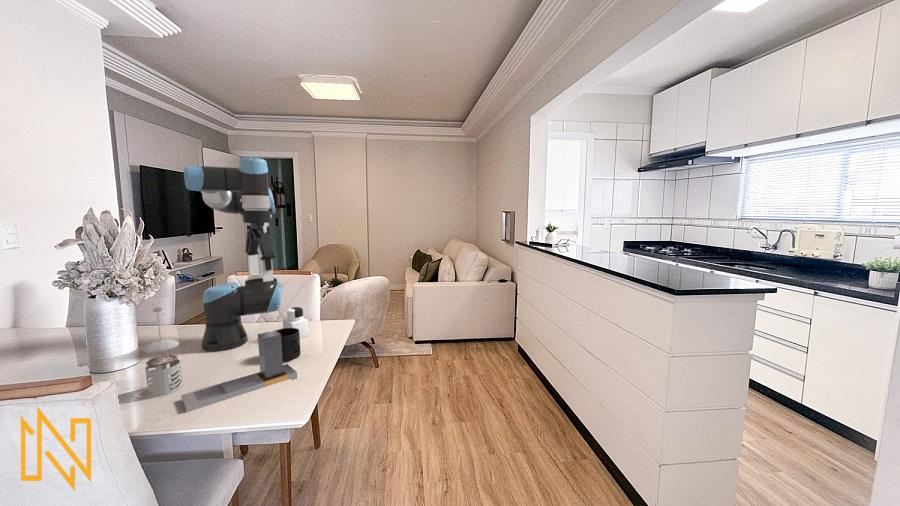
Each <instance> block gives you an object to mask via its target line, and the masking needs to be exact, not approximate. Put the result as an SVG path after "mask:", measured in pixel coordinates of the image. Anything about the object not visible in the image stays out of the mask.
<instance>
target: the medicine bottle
mask: <svg viewBox="0 0 900 506" xmlns="http://www.w3.org/2000/svg"><path fill="white" fill-rule="evenodd" d="M283 328H296V329H299V334H300V339H303V338H306V337H309V336H310V332H309V331H310V330H309V319H307V318H304V309H303V308H302V307H299V306H295V307H290V308H288V309H287V310H286V319H284V320H282V329H283Z"/></svg>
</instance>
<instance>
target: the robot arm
mask: <svg viewBox="0 0 900 506" xmlns="http://www.w3.org/2000/svg"><path fill="white" fill-rule="evenodd" d="M238 164H239V167H228V166H227V167H226V166H209V165H208V166H207V165H206V166H205V165H199V164H198V165H187V166H185V167H184V169H183V177H184V184H185V187H186V190H189V191H196V192H200V193H201V194H202V195H201V197H202V201H203V202H204V203H205V205H207V206H208V207H209V208H210V209H212V210H215V211H218V212H221V213H226V214H236V215H239V214H240V218H241V219H242V221H243V223H244V224H245V235H246V236H245V237H246V242H245V254H246V253H247V267H248V268H247V269H248V277H247V279H245V281H244V285H241V286H240V285H239V283H238V282H225V283H221V284H217V285H214V286H210V287H208V288H207V289H205V290H204V291H203V295H202V298H203V299H202V303H203V309H204V312H203V313H204V321H205V322H204V323H205V325H204V326H205V327H204V328H205V329H204V333H203V336H202V339H201V343H200V344H201V350H203V351H206V352H222V351H226V350H227V351H228V350H233V349H235V348H238V347H241V346H244V345H245V344H246V343H247V342H248V333H247V331H246V329H245V327H244V325H243V323H242V317H243V316H250V315H252V316H253V315H260V314H268V313H272V312H273V313H274V312H277V311H279V309H280V307H281V298H282V283H281V282H278V278H277V277H276V276H275V275H274V270H273V269H274V267H273V258H274V259H275V258H276V255H275V250H274V247H273V242H272V238H271V237H272V236H271V232H270V225H269V224H270V223H271V222H272V221H271V220H272V217H273V215H274V214H275V213H276V206H275V199H274V196H273V191H272V190H271V188H270V187H269V173H268V172H269V168H268V162H267V161H266V160H265V159H263V158H259V157H241V158H240V159H239V160H238Z"/></svg>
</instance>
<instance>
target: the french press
mask: <svg viewBox="0 0 900 506" xmlns="http://www.w3.org/2000/svg"><path fill="white" fill-rule="evenodd" d="M152 312H153V313H156V315H157V316H156V317H157V326H158V332H159V334H158V335H159V339H158V340H155V341H152V342H150V343H149V344H147V345H145V346H144V347H143V348H142V351H143V352H145V353H148V354H154V353H155V354H157V353H160V354H161V355H160V356H155V357H152V358H150V359H149V360H147V361H146V363H145V364H146V365H147V366H145V368H144V369H145V377H146V387H147V392H146V393H145V397H146V398H148V399H158V398H160V399H161V398H164V397H168V396H172V395H174V394H177V393H179V392H180V391H182V390H183V389H184V388H185V386H186V384H185V383H183V378H182V375H183V374H182V367H181V360H180V359H179V355H177V354H175V351H174V349H175V348H178V346H179V345H180V342H179V341H177V340H175V339H170V338H168V339H167V338H165V339H162V336H161V327H160V317H159V312H162V307H160V306H158V307H157V306H156V307H154V308H153V309H152ZM171 350H172V354H168V351H171ZM163 352H165V355H163ZM168 365H169V367H168ZM150 369H151V370H150Z"/></svg>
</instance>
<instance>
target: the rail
mask: <svg viewBox="0 0 900 506" xmlns="http://www.w3.org/2000/svg"><path fill="white" fill-rule="evenodd" d="M295 379H298V372H297V371H296V370H295V369H294V368H293V367H292V366H291V365H290V364H288V363H285V364H283V375H282V376H279V377H276V378H273V379H269V380H266V381H263V380H262V379H261V374H260V371H258V372H255V373H252V374H250V375H249V374H248V375H245V376H241V377H238V378H235V379H230V380H227V381H224V382H221V383H217V384H214V385H211V386H208V387H204V388H202V389H199V390H198V389H197V390H194V391H190V392H187V393H184V394H181V395H180V400H181V404H182V405H183V408H184V411H185V413H189V412H192V411H195V410H199V409H201V408H205V407H207V406H211V405H214V404H217V403H220V402H223V401H226V400H227V401H228V400H229V399H232V398H236V397H238V396H241V395H245V394H247V393H248V394H249V393H251V392H255V391H257V390H260V389H264V388H267V387H269V386H273V385H275V384H279V383H283V382H285V381H288V380H295Z"/></svg>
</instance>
